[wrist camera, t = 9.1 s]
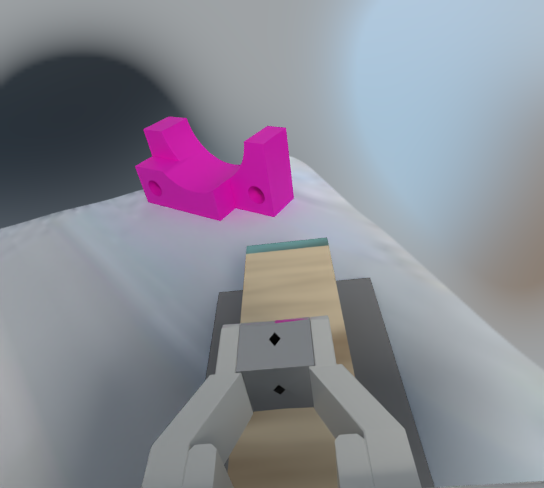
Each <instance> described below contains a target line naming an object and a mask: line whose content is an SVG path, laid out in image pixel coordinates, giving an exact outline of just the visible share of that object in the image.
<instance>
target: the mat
mask: <svg viewBox="0 0 544 488" xmlns="http://www.w3.org/2000/svg"><path fill="white" fill-rule="evenodd" d="M336 285H337V290H338V295H339V300H340V305H341V310H342V315H343V320H344V325H345V330H346V335H347V340H348V345H349V350H350V355H351V360H352V365H353V370H354V375H355V378H356V379H357V380H358V381H359V382H360V383H361V384H362V385H363V386H364V387H365V388H366V389H367V390H368V391H369V392H370V394H371V395H372V396H373V397H374V398H375V399H376V400H377V401H378V402H379V403H380V404H381V405H382V406H383V407H384V408H385V409H386V410H387V411H388V412H389V413H390V414H391V415H392V416H393V417H394V418H395V419H396V420H397V421H398V422H399V423H400V425H401V426H402V427H403V428H404V429H405V431H406V435H407V438H408V442H409V445H410V449H411V452H412V456H413V459H414V463H415V466H416V470H417V473H418V477H419V480H420V484H421V487H422V488H432V487H434V484H433V480H432V477H431V474H430V471H429V468H428V464H427V461H426V458H425V455H424V451H423V448H422V445H421V442H420V438H419V435H418V432H417V429H416V425H415V422H414V419H413V416H412V412H411V409H410V406H409V403H408V400H407V396H406V393H405V390H404V387H403V383H402V380H401V377H400V374H399V370H398V367H397V364H396V361H395V357H394V354H393V351H392V348H391V344H390V341H389V338H388V335H387V332H386V328H385V325H384V322H383V319H382V315H381V312H380V309H379V306H378V302H377V299H376V296H375V293H374V289H373V286H372V283H371V280H370V278H362V279H352V280H342V281H336ZM242 297H243V290H239V291H229V292H219V296H218V303H217V309H216V316H215V322H214V328H213V335H212V341H211V348H210V354H209V361H208V367H207V373H206V379H207V378H208V377H209V375H214V374H215V371H216V364H217V356H218V349H219V342H220V334H221V329H222V327H223V325H226V324H240V320H241V309H242ZM228 462H229V457H228V459H227V461H226V462H225V464H224V466H225V469H226V471H227V473H228Z"/></svg>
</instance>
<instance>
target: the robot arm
mask: <svg viewBox="0 0 544 488" xmlns="http://www.w3.org/2000/svg"><path fill="white" fill-rule="evenodd" d="M309 407H314V409H315V411H316V412H317V413H318V415H319V416H320V418H321V419H322V420H323V422H324V423H325V425H326V426H327V428H328V429H329V430H330V432H331V433H332V435H333V436H334V437H335V439H336V440H335V453H336V468H337V483H338V488H422V487H421V484H420V480H419V477H418V473H417V470H416V466H415V463H414V459H413V456H412V452H411V449H410V445H409V442H408V438H407V435H406V431H405V429H404V428H403V427H402V426H401V425H400V423H399V422H398V421H397V420H396V419H395V418H394V417H393V416H392V415H391V414H390V413H389V412H388V411H387V410H386V409H385V408H384V407H383V406H382V405H381V404H380V403H379V402H378V401H377V400H376V399H375V398H374V397H373V396H372V395H371V394H370V392H369V391H368V390H367V389H366V388H365V387H364V386H363V385H362V384H361V383H360V382H359V381H358V380H357V379H356V378H355V377H354V376H353V375H352V374H351V373H350V372H349V371H348V370H347V369H346V368H345V367H344V366H343V365H342V364H336V358H335V352H334V346H333V340H332V334H331V327H330V321H329V317H328V315H325V316H315V317H303V318H294V319H284V320H275V321H266V322H252V323H240V324H226V325H223V327H222V329H221V334H220V342H219V349H218V356H217V364H216V371H215V374H214V375H209V377H208V378H207V379H206V380H205V381H204V383H203V384H202V385H201V386H200V388H199V389H198V390H197V391H196V392H195V394H194V395H193V396H192V397H191V398H190V400H189V401H188V402H187V403H186V405H185V406H184V407H183V408H182V409H181V411H180V412H179V413H178V414H177V415H176V417H175V418H174V419H173V420H172V422H171V423H170V424H169V425H168V426H167V428H166V429H165V430H164V431H163V432H162V434H161V435H160V436H159V437H158V439H157V440H156V441H155V442H154V443H153V445H152V446H151V450H150V454H149V458H148V462H147V466H146V470H145V474H144V478H143V482H142V486H141V488H234V487H233V485H232V482H231V480H230V478H229V476H228V473H227V471H226V469H225V466H224V464H225V462H226V461H227V459H228V457H229V455H230V454H231V452H232V450H233V449H234V447H235V445H236V443H237V442H238V440H239V438H240V436H241V435H242V433H243V431H244V429H245V428H246V426H247V424H248V422H249V421H250V419H251V417H252V415H253V412H256V411H266V410H276V409H288V408H309ZM432 488H544V481H537V482H520V483H502V484H485V485H468V486H450V487H432Z"/></svg>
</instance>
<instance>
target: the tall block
mask: <svg viewBox="0 0 544 488" xmlns="http://www.w3.org/2000/svg"><path fill="white" fill-rule="evenodd" d="M325 315H328V317H329V321H330V327H331V334H332V340H333V346H334V352H335V358H336V364H342V365H343V366H344V367H345V368H346V369H347V370H348V371H349V372H350V373H351V374H352V375H353V376H354V377H355V375H354V370H353V365H352V360H351V355H350V350H349V345H348V340H347V335H346V330H345V325H344V320H343V315H342V310H341V305H340V300H339V295H338V290H337V285H336V280H335V275H334V270H333V265H332V260H331V255H330V250H329V245H328V240H327V238H318V239H309V240H300V241H290V242H281V243H271V244H262V245H253V246H247V250H246V261H245V273H244V285H243V297H242V309H241V320H240V323H252V322H266V321H275V320H284V319H294V318H303V317H315V316H325ZM335 440H336V439H335V437H334V436H333V435H332V433H331V432H330V430H329V429H328V428H327V426H326V425H325V423H324V422H323V420H322V419H321V418H320V416H319V415H318V413H317V412H316V411H315V409H314V407H309V408H288V409H276V410H266V411H256V412H253V415H252V417H251V419H250V421H249V422H248V424H247V426H246V428H245V429H244V431H243V433H242V435H241V436H240V438H239V440H238V442H237V443H236V445H235V447H234V449H233V450H232V452H231V454H230V455H229V462H228V476H229V478H230V480H231V482H232V485H233V487H234V488H338V483H337V468H336V453H335Z"/></svg>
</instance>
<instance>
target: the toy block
mask: <svg viewBox="0 0 544 488" xmlns="http://www.w3.org/2000/svg"><path fill="white" fill-rule="evenodd" d="M144 133H145V136H146V139H147V141H148V144H149V147H150V150H151V153H152V157H150V158H149V159H147V160H145V161H143V162H142V163H140V164H138V165H136V166H135V168H136V170H137V173H138V176H139V178H140V181H141V184H142V187H143V189H144V192H145V195H146V197H147V200H148V202H150V203H154V204H158V205H161V206H165V207H169V208H173V209H177V210H181V211H184V212H188V213H192V214H196V215H200V216H204V217H207V218H211V219H215V220H219V221H221V220H222V219H223V218H224V217H226V216H227V215H228V214H229V213H230V212H231V211H233V210H234V209H235V208H238V209H242V210H246V211H250V212H255V213H259V214H263V215H268V216H272V217H275V216H276V215H277V214H278V213H279V212H280V211H281V210H282V209H283V208H284V207H285V206H286V205H287V204H288V203H289V202H290V201H291V200H292V199H293V198H294V196H293V187H292V178H291V169H290V160H289V151H288V142H287V133H286V128H283V127H272V126H267V127H265V128H264V129H262V130H261V131H259V132H258V133H256V134H255V135H253V136H252V137H250V138H249V139H247V140H246V141H244V156H243V160H242V164H241V165H234V164H229V163H226V162H223V161H221V160H219V159H218V158H216V157H214V156H213V155H212V154H210V153H209V152H208V151H207V150H206V149H205V148H204V147H203V146H202V145H201V143H200V142H199V141H198V139H197V138H196V137H195V135H194V133H193V132H192V130H191V128H190V125H189V123H188V121H187V119H186V118H177V117H167V118H165V119H163V120H161V121H159V122H157V123H155V124H153V125H151V126H149V127H147V128H145V129H144Z"/></svg>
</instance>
